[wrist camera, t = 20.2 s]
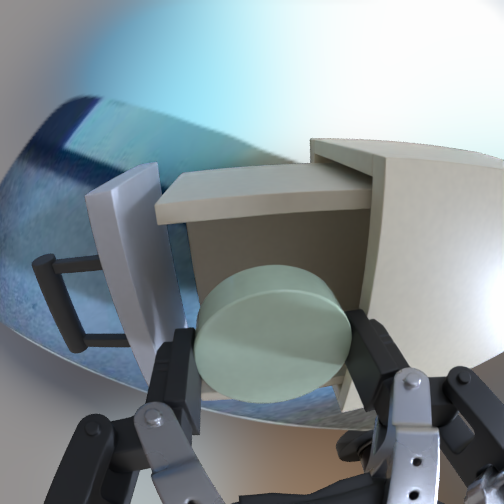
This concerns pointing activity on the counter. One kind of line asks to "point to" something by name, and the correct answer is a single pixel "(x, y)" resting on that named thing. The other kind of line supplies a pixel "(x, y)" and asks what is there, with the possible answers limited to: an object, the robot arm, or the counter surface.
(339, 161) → the cabinet
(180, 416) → the robot arm
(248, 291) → the pale green disc
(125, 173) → the drawer
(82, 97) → the counter surface
